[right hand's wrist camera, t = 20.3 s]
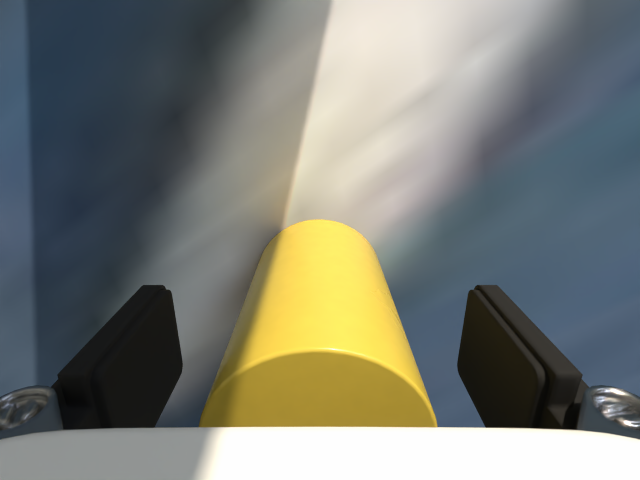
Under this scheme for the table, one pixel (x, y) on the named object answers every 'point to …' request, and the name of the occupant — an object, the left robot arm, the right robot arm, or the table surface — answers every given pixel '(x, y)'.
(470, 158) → the table surface
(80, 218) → the table surface
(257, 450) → the right robot arm
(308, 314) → the cylinder
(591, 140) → the table surface
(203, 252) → the table surface
